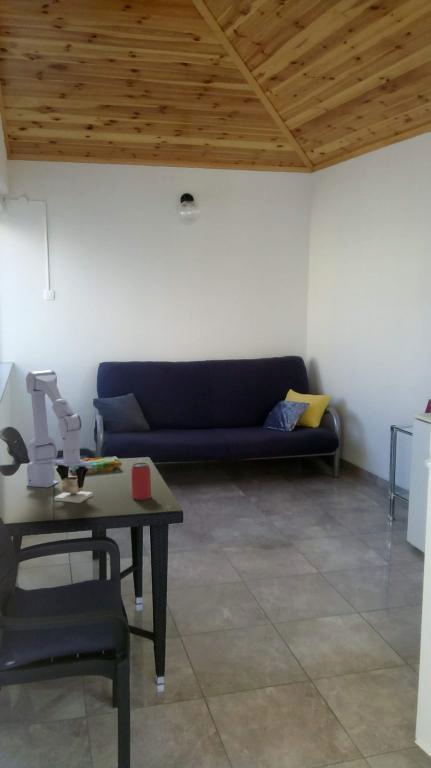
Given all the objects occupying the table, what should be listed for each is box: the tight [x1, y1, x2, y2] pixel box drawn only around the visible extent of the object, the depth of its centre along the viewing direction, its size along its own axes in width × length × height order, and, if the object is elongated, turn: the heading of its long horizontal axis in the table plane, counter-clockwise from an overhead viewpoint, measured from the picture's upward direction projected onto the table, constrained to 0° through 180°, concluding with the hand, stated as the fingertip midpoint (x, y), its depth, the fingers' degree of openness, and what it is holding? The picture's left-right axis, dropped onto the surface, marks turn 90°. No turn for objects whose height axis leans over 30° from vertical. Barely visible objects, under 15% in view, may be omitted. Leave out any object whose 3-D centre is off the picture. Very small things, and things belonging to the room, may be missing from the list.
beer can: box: [130, 462, 152, 501], centre depth 234 cm, size 7×7×12 cm
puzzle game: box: [69, 455, 122, 476], centre depth 275 cm, size 12×5×20 cm
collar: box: [61, 475, 86, 493], centre depth 236 cm, size 6×6×4 cm
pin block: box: [54, 490, 94, 504], centre depth 236 cm, size 10×9×5 cm
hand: (73, 486), depth 236 cm, fingers closed on collar, 5 cm apart
